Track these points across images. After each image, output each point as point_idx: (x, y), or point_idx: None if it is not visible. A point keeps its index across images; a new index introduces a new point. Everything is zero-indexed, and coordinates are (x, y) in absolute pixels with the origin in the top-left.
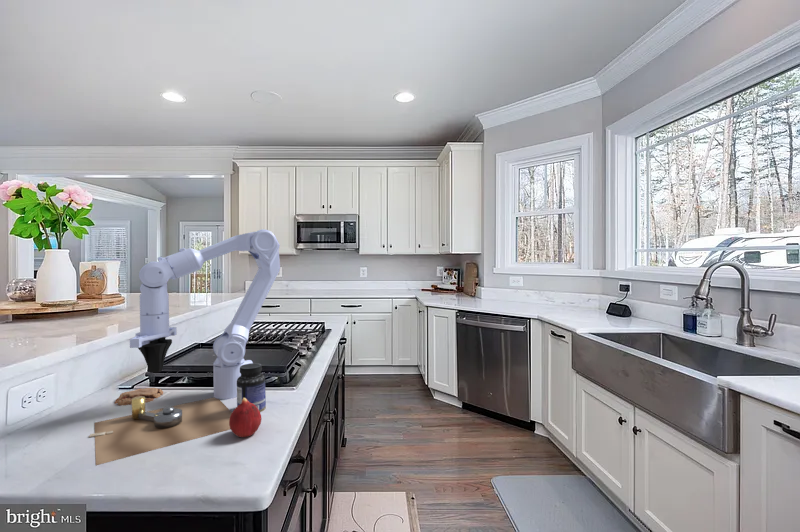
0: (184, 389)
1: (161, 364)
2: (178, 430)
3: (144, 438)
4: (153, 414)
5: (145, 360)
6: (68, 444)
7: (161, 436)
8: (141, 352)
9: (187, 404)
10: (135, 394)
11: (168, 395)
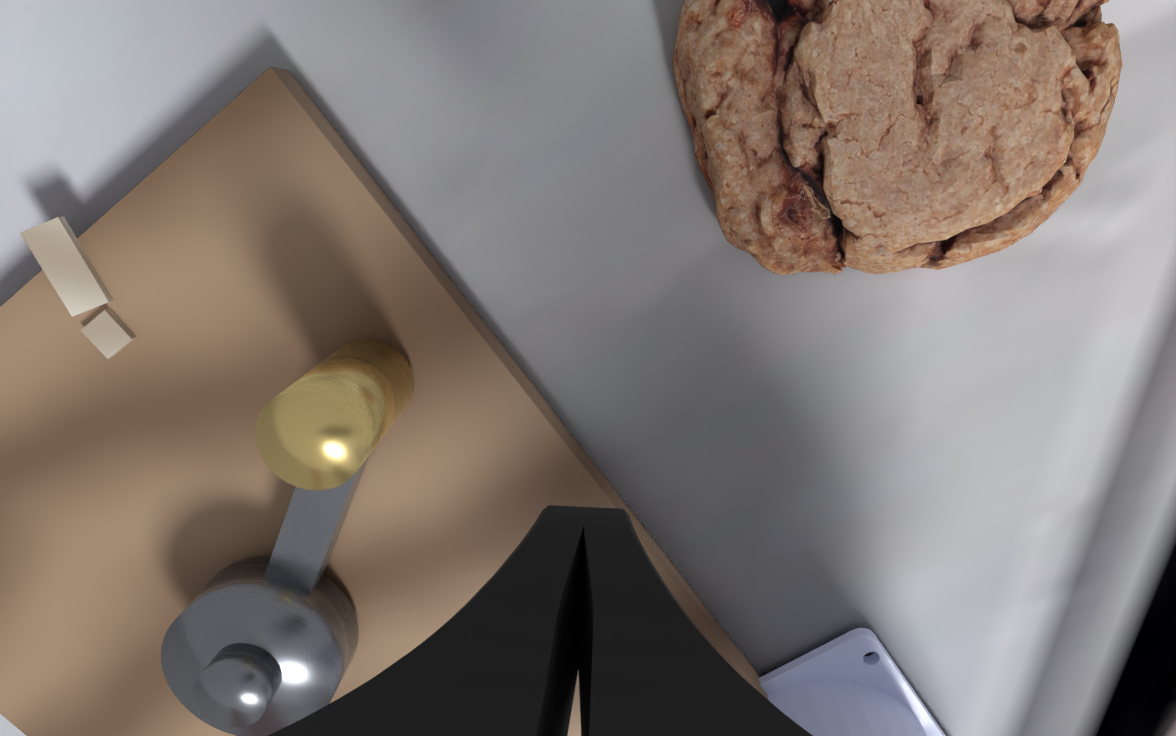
0: (1158, 341)
1: (581, 708)
2: None
3: (79, 585)
4: (314, 527)
5: (478, 592)
6: (11, 92)
7: (117, 657)
8: (345, 698)
9: None
10: (817, 90)
11: (1004, 274)
